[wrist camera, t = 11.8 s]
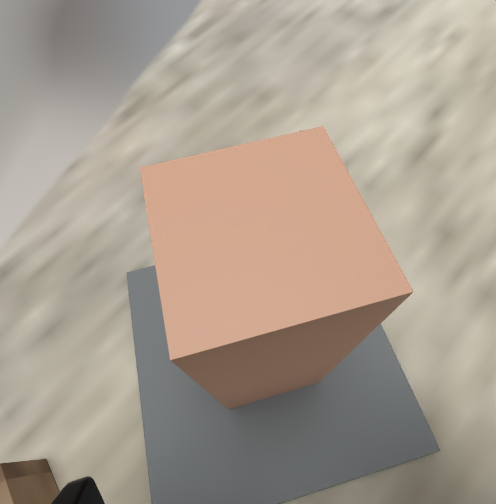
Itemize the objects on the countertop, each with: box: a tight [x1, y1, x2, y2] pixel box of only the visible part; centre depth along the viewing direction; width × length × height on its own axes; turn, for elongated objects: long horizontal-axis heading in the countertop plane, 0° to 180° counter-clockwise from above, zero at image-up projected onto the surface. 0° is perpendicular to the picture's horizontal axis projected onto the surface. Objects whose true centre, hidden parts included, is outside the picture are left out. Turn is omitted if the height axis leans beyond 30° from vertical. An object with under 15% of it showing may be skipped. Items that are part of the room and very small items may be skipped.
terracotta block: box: [140, 126, 413, 409], centre depth 14 cm, size 5×5×13 cm
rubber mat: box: [127, 266, 440, 504], centre depth 19 cm, size 14×14×1 cm
